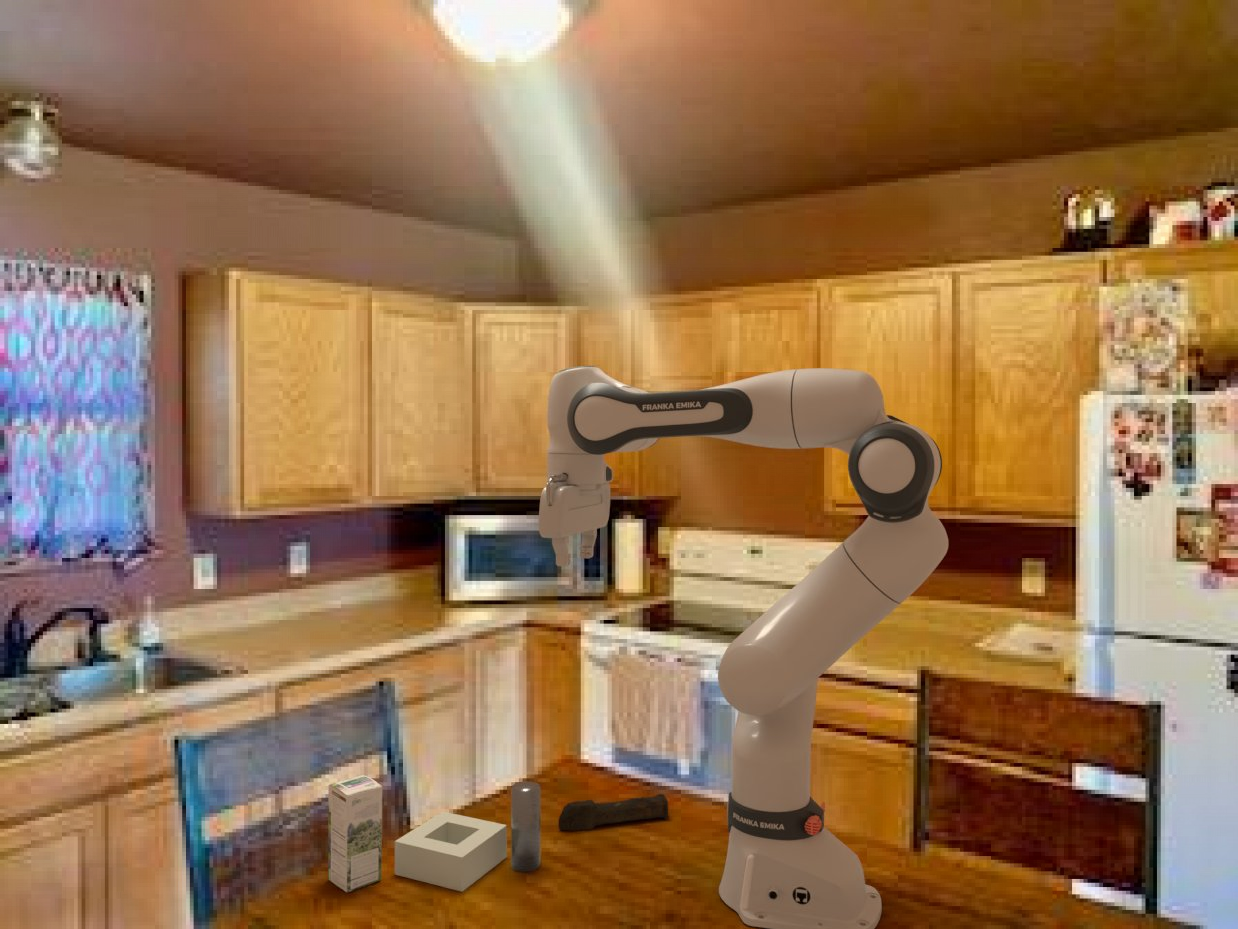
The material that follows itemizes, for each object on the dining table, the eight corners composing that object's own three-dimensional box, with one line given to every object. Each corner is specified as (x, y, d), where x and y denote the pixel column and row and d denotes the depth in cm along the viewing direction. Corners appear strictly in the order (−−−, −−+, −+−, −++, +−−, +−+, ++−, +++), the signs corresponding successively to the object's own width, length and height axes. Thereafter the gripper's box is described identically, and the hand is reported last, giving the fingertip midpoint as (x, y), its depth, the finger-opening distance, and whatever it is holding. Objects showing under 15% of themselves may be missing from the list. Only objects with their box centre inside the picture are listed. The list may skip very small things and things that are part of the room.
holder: (506, 857, 143) (506, 825, 143) (462, 891, 132) (462, 857, 132) (442, 842, 148) (442, 811, 148) (394, 874, 137) (394, 841, 137)
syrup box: (362, 867, 139) (362, 772, 139) (383, 881, 135) (382, 783, 135) (327, 880, 135) (326, 782, 135) (347, 895, 131) (346, 794, 131)
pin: (545, 862, 141) (545, 784, 141) (531, 874, 137) (531, 794, 137) (520, 856, 143) (520, 779, 143) (505, 868, 139) (505, 789, 139)
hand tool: (661, 812, 161) (662, 786, 160) (669, 822, 157) (669, 795, 157) (555, 825, 155) (555, 798, 155) (560, 835, 151) (560, 808, 151)
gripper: (568, 475, 131) (567, 572, 132) (617, 470, 151) (616, 554, 151) (528, 474, 133) (527, 569, 134) (581, 469, 153) (580, 552, 153)
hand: (575, 561), depth 143 cm, fingers open, 8 cm apart
